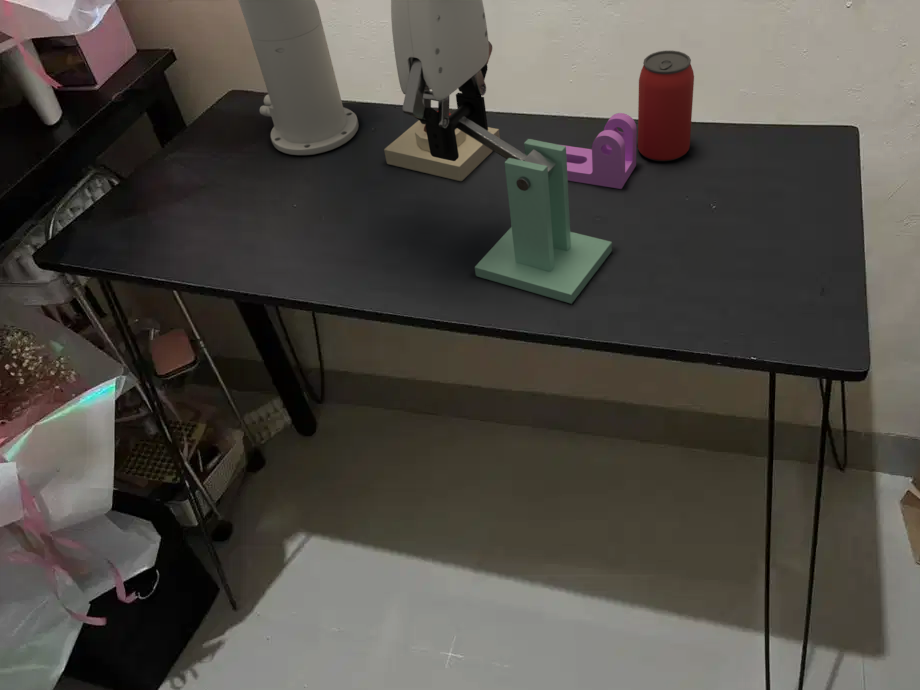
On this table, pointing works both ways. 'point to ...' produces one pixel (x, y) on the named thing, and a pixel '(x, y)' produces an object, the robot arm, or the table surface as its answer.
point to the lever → (494, 139)
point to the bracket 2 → (606, 155)
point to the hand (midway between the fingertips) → (459, 142)
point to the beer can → (665, 105)
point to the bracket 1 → (542, 232)
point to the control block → (416, 156)
